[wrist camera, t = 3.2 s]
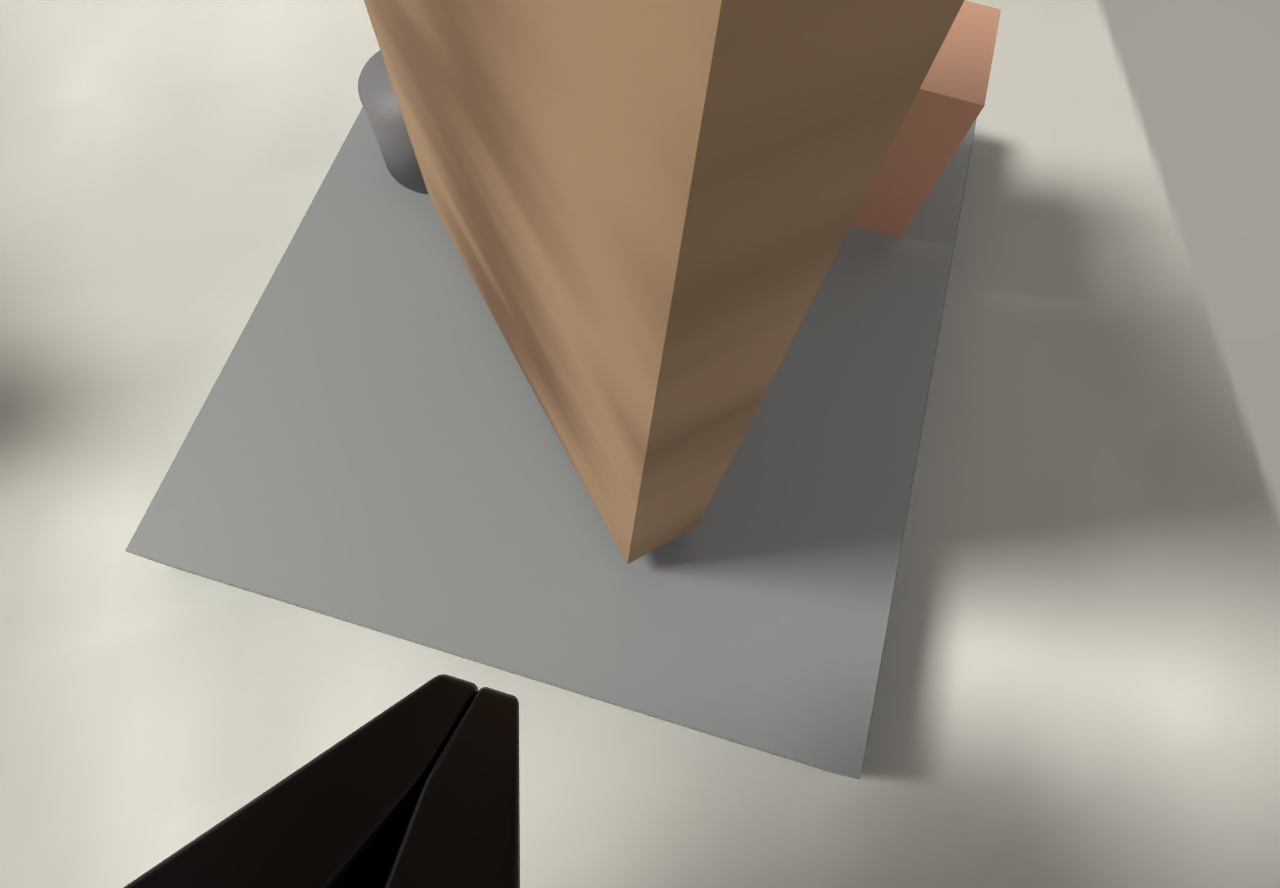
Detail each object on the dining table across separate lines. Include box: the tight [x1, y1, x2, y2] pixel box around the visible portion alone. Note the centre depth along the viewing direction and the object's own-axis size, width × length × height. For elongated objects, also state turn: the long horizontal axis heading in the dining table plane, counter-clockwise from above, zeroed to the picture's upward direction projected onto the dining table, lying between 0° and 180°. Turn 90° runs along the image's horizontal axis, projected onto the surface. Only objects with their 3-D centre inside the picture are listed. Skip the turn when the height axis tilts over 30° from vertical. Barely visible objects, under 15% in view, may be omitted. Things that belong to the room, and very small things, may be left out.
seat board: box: [125, 0, 1001, 779], centre depth 15 cm, size 16×14×6 cm
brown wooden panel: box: [364, 0, 964, 564], centre depth 9 cm, size 9×2×14 cm, turn 29°
